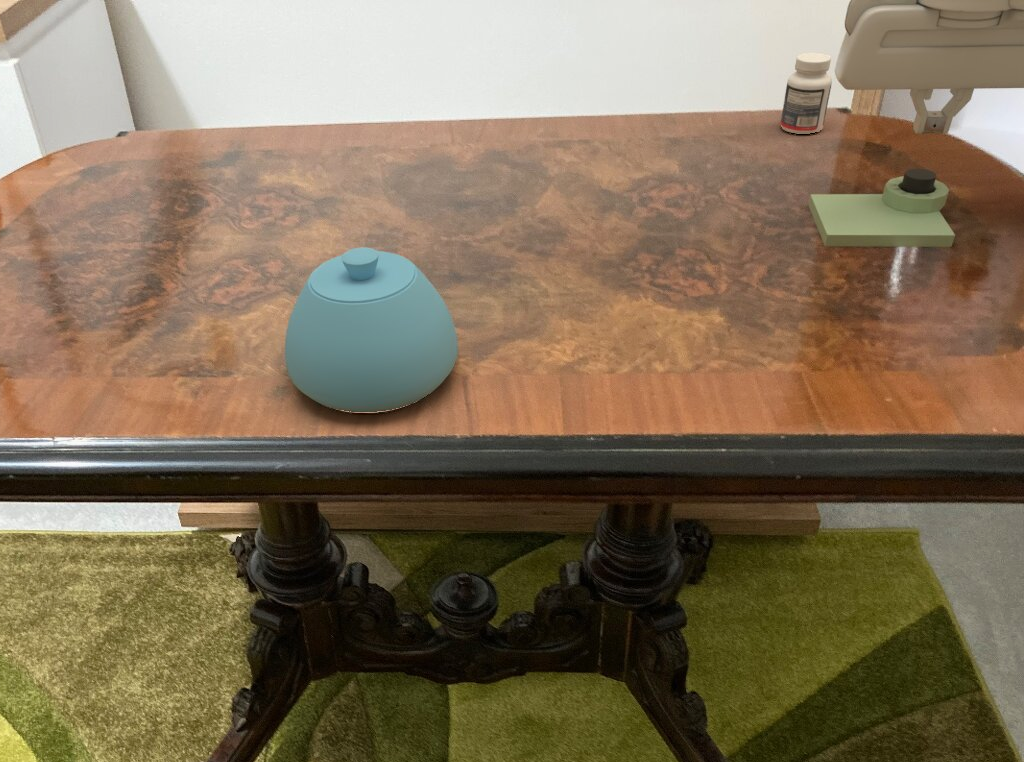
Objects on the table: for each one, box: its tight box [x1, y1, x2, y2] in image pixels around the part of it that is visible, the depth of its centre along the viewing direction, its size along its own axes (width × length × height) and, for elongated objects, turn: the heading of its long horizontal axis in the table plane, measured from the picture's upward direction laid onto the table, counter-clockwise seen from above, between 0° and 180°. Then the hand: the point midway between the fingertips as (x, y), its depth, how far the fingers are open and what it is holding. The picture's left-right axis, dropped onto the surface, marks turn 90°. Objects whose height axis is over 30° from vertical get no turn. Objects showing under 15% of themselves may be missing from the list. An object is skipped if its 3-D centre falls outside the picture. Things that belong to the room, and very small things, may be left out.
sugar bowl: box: [284, 246, 459, 412], centre depth 78 cm, size 15×15×12 cm
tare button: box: [901, 168, 937, 194], centre depth 96 cm, size 3×3×2 cm
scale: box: [807, 175, 956, 248], centre depth 96 cm, size 13×11×3 cm
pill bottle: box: [779, 52, 833, 135], centre depth 116 cm, size 5×5×9 cm
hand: (929, 131), depth 93 cm, fingers closed
